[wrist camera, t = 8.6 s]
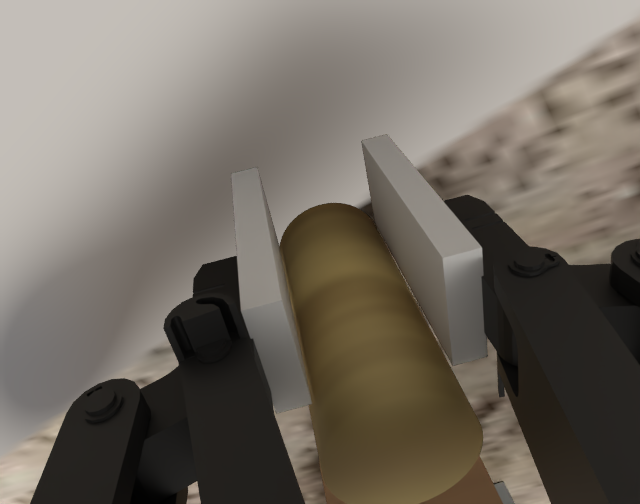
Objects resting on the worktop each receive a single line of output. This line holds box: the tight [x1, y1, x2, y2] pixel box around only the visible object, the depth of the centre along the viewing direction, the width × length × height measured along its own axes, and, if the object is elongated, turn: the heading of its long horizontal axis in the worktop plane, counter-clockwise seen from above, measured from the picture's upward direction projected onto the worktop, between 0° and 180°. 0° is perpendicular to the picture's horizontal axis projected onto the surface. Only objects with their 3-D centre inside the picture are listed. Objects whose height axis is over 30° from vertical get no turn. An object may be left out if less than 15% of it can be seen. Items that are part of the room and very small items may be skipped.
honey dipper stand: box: [280, 203, 503, 504], centre depth 18 cm, size 17×6×8 cm, turn 15°
